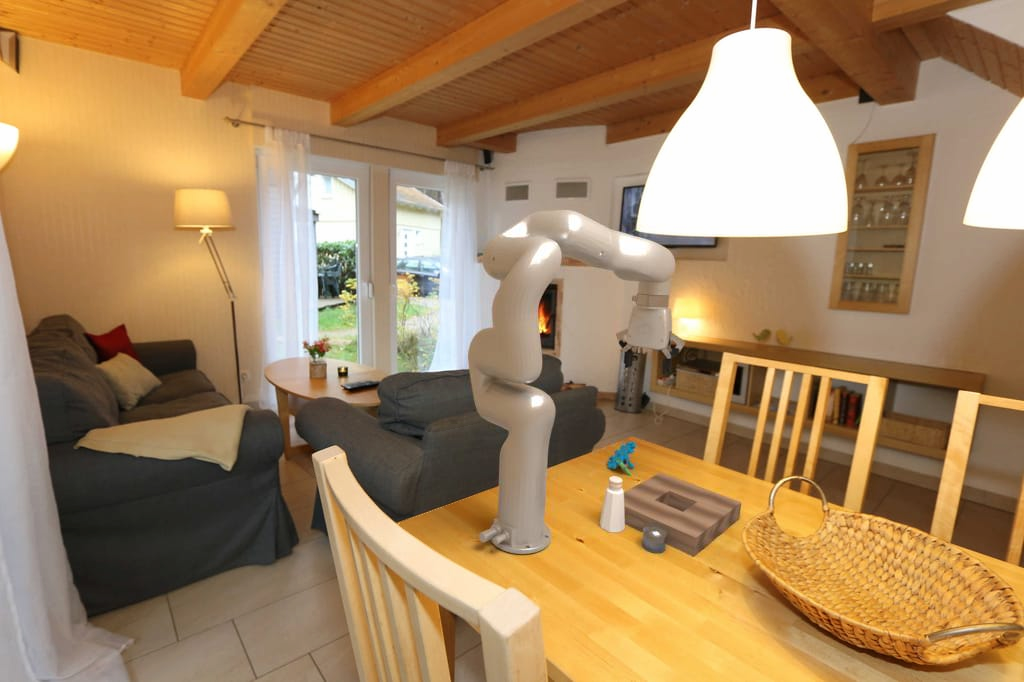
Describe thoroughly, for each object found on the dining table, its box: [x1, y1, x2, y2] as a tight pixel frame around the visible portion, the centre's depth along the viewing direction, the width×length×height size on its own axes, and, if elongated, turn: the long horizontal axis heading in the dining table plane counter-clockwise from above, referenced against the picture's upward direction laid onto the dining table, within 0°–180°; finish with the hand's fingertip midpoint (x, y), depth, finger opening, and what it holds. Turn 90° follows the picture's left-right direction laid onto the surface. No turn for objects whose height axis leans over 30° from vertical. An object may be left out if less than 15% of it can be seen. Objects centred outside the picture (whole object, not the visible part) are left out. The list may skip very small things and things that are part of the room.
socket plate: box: [623, 472, 742, 558], centre depth 112 cm, size 22×20×4 cm
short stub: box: [641, 523, 667, 555], centre depth 100 cm, size 5×5×4 cm
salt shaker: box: [599, 475, 626, 534], centre depth 107 cm, size 5×5×11 cm
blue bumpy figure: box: [606, 440, 638, 476], centre depth 137 cm, size 11×6×10 cm
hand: (646, 370), depth 125 cm, fingers open, 9 cm apart
